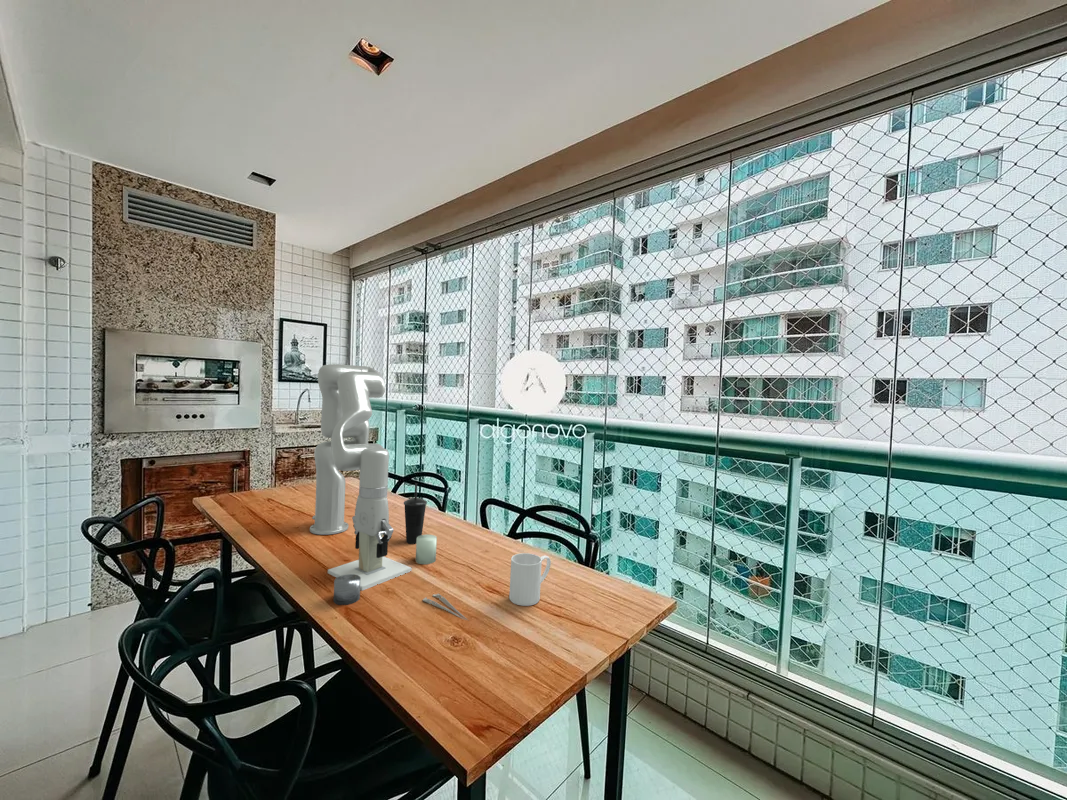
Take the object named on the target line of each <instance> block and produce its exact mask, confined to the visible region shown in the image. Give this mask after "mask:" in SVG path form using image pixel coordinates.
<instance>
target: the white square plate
mask: <svg viewBox="0 0 1067 800" xmlns="http://www.w3.org/2000/svg"><path fill="white" fill-rule="evenodd" d="M412 569H413V568H412V567H410V566H408V565H406V564H404V563H401V562H399V561H396V560H393V559H392V558H389V557H386V556H383V557H382V567H380V568H378V569H375V570H372V571H369V572H365V571H363V570H361V569H360V568H359V559H357V560H353V561H350V562H347V563H344V564H341V565H338V566H334V567H332V568H328V569H327V574H329V575H331V577H335V579H336V578H337V577H339V576H342V575H347V574H354V575H358V576H360V578H361V580H360V591H365V590H367V589H370V588H372V587H375V586H378V585H380V584H382V583H385V582H387V581H390V579H391V580H393V579H395V577H396V578H398V577H400V575H401V576H403V575H405V573H406V574H408V573H410V571H411V572H412V571H413V570H412ZM377 584H378V585H377Z"/></svg>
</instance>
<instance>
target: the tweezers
mask: <svg viewBox="0 0 1067 800" xmlns="http://www.w3.org/2000/svg"><path fill="white" fill-rule="evenodd" d="M432 598H437V599H438V598H439V599H438V600H439V601H440V602H442V603H443V604H445V605H446V606H447V607H448V608H447V607H446V606H444V605H442V604H441V603H438V602H436V601H435V600H433V599H430V598H427V596H426V597H424V598H423V599H422V601H423V602H424V603H427V604H429V605H431V604H432V605H431V606H434V607H437V608H439V609H441V610H443V609H444V611H445V610H446V611H445V612H447V611H448V613H449V614H452V615H454V616H456V617H457V618H460V619H463V620H464V621H469V619H468V618H467V617H465V616H464V615H463V614H462V612H460V611H459V610H457V608H455V607H454V605H452V603H450V602H449V600H447V599H446V597H445V596H443V595H441V594H440V593H437V594H432ZM449 608H450V609H449ZM452 610H453V611H452Z"/></svg>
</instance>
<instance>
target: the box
mask: <svg viewBox="0 0 1067 800" xmlns="http://www.w3.org/2000/svg"><path fill="white" fill-rule="evenodd" d="M380 531H382V530H380ZM380 531H379V532H380ZM380 536H381V538H382V537H383V534H382V535H380ZM377 543H379V542H378V540H377V537H376V535H375V536H370V535H367V534H365V533H362V532H359V549H358V560H359V568H360V569H361V570H363V571H365V572H369V571H372V570H375V569H378V568H380V567H382V557H380V558H377V557H376V553H377Z"/></svg>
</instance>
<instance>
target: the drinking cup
mask: <svg viewBox="0 0 1067 800" xmlns="http://www.w3.org/2000/svg"><path fill="white" fill-rule="evenodd" d="M417 496H418V483H416V482H415V483H414V497H412V498H409V499H406V500H404V502H403V505H404V519H405V520H404V521H405V522H404V523H405V524H404V525H405V538H406V539H405V543H407V544H409V545H416V541H417V537H418V536H420V535H423V529H424V524H425V523H424V521H425V515H426V514H425V513H426V506H427V504H428V502H427V500H425V499H423V498H421V497H417Z"/></svg>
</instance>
